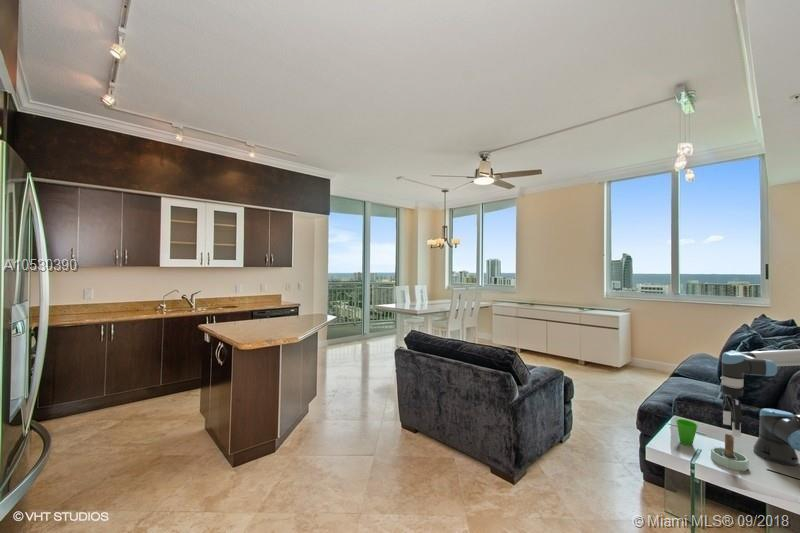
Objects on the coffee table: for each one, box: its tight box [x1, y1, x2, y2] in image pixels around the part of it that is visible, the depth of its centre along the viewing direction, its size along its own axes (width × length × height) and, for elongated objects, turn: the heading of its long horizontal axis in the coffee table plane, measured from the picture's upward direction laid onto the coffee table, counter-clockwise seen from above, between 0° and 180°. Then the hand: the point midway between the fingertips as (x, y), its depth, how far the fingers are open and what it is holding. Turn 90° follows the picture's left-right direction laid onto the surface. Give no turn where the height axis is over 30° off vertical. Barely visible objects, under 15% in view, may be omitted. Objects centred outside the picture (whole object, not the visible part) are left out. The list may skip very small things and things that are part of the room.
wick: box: [724, 433, 735, 458], centre depth 166 cm, size 2×2×12 cm
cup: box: [675, 418, 699, 446], centre depth 183 cm, size 9×9×11 cm
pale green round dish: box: [710, 446, 750, 471], centre depth 166 cm, size 13×13×4 cm
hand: (731, 430), depth 165 cm, fingers open, 13 cm apart
